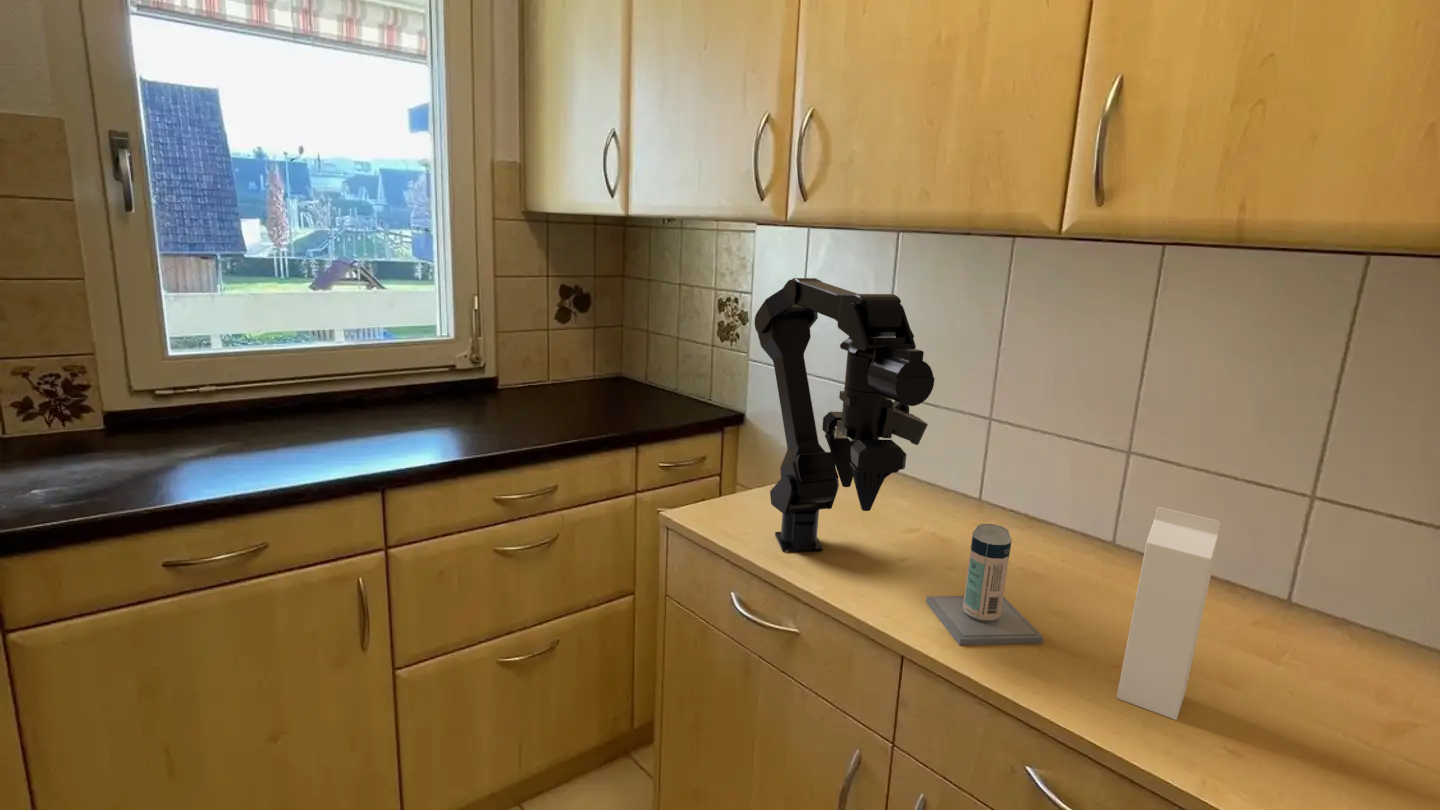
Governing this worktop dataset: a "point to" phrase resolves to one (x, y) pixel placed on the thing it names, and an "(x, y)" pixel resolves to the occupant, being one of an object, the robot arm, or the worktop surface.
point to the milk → (1168, 611)
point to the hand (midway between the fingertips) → (855, 498)
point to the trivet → (983, 624)
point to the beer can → (987, 572)
